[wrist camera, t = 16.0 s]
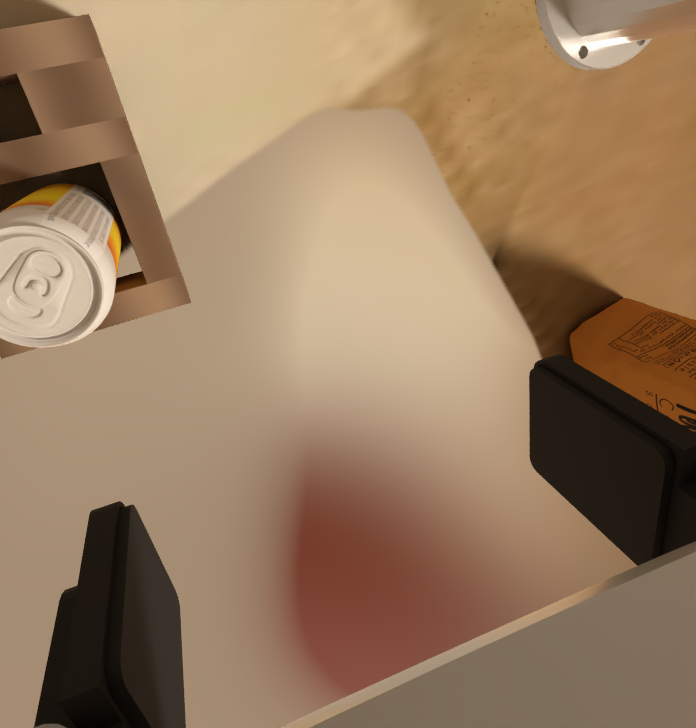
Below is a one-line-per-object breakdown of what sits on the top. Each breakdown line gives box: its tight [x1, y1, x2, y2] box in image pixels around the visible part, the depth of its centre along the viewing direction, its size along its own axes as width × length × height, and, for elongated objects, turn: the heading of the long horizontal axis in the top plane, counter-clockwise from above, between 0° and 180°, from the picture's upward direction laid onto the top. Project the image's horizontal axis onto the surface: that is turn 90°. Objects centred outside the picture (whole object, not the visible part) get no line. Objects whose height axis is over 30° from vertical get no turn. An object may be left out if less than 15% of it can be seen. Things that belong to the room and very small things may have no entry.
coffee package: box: [570, 298, 696, 433], centre depth 47 cm, size 10×12×22 cm
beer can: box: [0, 183, 122, 348], centre depth 29 cm, size 6×6×15 cm
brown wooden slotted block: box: [0, 14, 191, 358], centre depth 32 cm, size 12×17×4 cm
